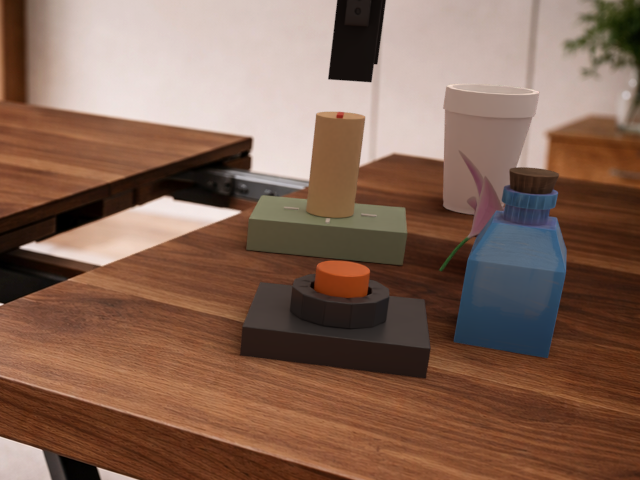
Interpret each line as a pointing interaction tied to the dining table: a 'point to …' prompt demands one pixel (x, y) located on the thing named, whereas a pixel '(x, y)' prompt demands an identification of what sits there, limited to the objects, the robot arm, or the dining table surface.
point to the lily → (478, 205)
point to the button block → (338, 329)
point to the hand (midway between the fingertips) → (354, 71)
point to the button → (342, 279)
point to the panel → (328, 231)
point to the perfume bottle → (516, 270)
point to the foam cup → (483, 137)
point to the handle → (335, 164)
